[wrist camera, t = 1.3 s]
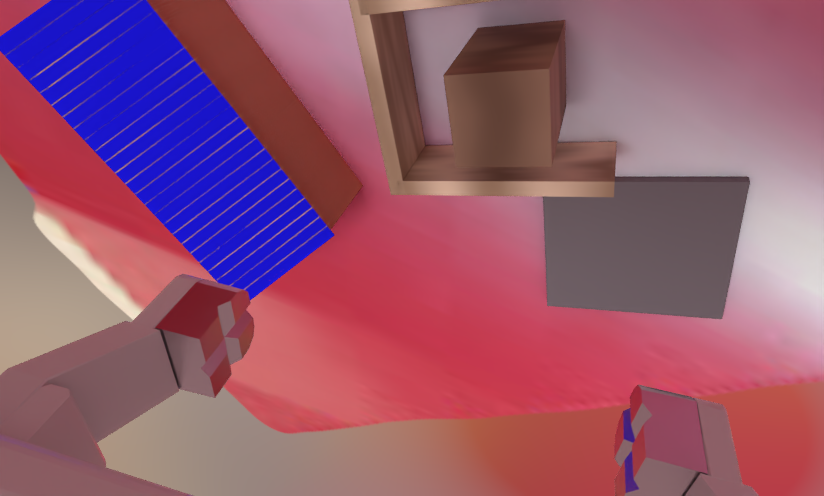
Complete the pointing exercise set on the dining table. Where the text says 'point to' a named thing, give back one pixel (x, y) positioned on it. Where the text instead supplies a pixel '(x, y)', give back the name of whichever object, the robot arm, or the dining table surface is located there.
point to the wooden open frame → (435, 164)
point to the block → (508, 96)
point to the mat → (646, 246)
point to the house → (191, 127)
